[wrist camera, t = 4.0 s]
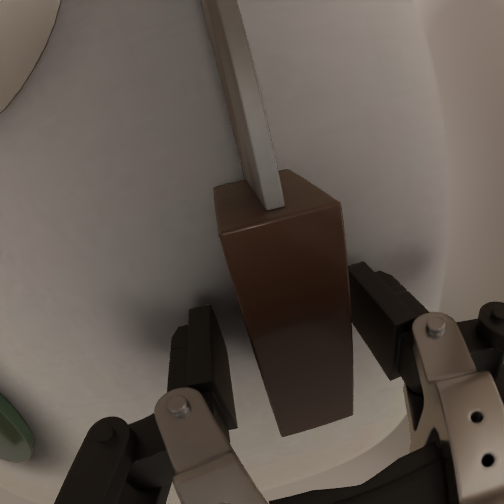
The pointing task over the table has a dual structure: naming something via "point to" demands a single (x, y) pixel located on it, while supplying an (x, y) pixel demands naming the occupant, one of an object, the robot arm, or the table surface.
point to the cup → (22, 41)
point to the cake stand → (14, 434)
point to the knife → (282, 253)
